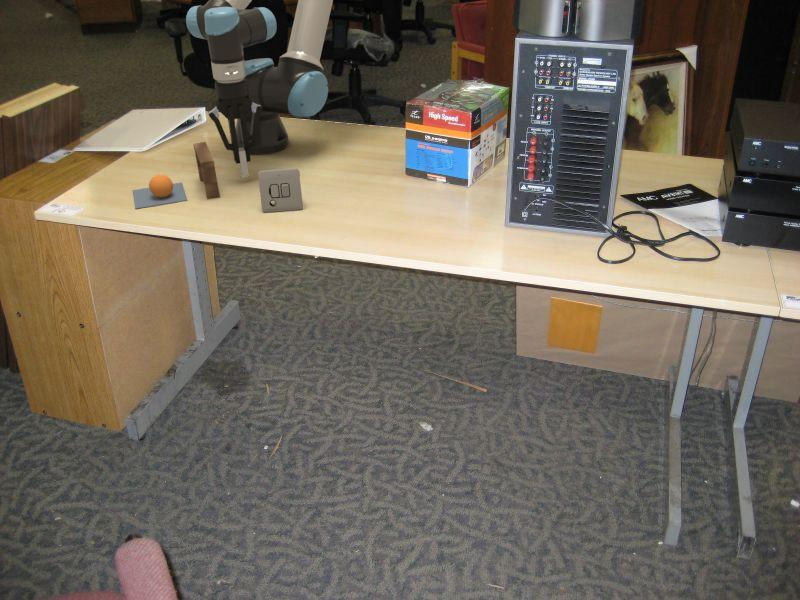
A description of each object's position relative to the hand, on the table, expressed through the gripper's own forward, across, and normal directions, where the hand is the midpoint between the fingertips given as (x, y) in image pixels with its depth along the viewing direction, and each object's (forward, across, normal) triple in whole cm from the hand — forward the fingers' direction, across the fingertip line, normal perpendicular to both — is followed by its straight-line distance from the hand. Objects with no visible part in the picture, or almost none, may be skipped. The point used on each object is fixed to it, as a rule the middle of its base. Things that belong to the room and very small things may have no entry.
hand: (244, 174), depth 185 cm
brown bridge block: (+2, -9, 0) cm, 9 cm away
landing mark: (+2, -21, 0) cm, 21 cm away
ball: (-1, -20, -1) cm, 20 cm away
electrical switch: (+2, +5, -19) cm, 20 cm away
